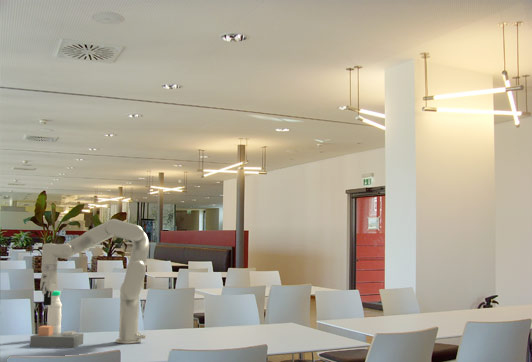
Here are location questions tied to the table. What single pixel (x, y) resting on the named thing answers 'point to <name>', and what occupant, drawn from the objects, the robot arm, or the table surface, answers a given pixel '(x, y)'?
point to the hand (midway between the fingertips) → (47, 305)
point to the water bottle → (55, 312)
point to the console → (56, 340)
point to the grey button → (69, 333)
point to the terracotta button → (45, 330)
